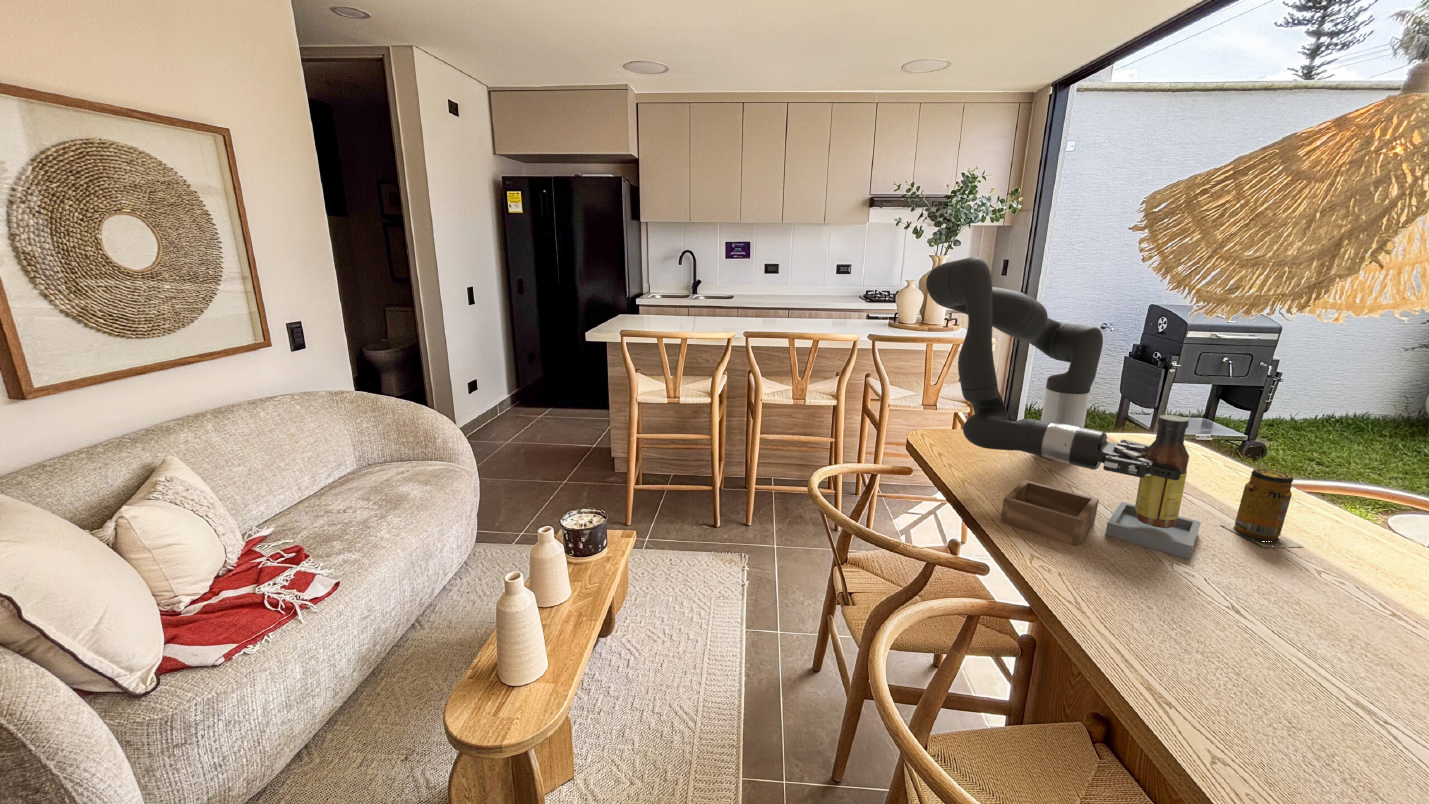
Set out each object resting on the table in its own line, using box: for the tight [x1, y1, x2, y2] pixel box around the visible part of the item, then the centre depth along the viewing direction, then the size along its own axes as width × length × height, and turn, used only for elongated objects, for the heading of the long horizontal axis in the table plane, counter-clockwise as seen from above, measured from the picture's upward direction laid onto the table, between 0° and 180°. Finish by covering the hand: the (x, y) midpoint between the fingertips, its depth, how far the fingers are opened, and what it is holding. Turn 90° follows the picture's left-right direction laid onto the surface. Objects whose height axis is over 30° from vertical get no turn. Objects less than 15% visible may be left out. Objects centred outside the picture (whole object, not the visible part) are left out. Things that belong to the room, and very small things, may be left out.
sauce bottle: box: [1134, 414, 1190, 528], centre depth 98 cm, size 7×6×20 cm
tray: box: [1104, 501, 1202, 560], centre depth 101 cm, size 12×12×2 cm
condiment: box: [1219, 468, 1304, 549], centre depth 99 cm, size 7×8×12 cm
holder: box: [1000, 479, 1100, 547], centre depth 105 cm, size 12×13×5 cm
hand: (1183, 469), depth 96 cm, fingers closed on sauce bottle, 6 cm apart
